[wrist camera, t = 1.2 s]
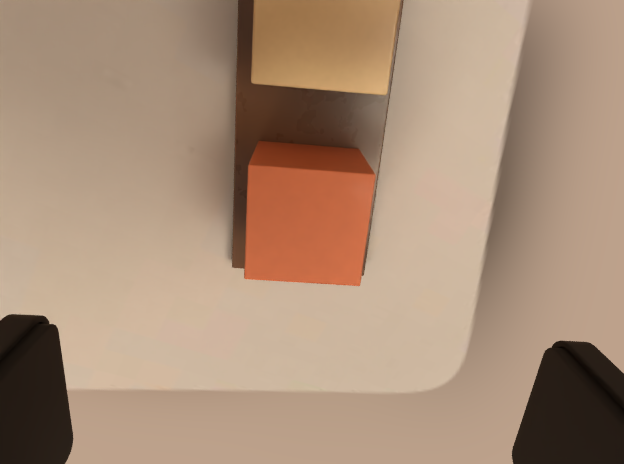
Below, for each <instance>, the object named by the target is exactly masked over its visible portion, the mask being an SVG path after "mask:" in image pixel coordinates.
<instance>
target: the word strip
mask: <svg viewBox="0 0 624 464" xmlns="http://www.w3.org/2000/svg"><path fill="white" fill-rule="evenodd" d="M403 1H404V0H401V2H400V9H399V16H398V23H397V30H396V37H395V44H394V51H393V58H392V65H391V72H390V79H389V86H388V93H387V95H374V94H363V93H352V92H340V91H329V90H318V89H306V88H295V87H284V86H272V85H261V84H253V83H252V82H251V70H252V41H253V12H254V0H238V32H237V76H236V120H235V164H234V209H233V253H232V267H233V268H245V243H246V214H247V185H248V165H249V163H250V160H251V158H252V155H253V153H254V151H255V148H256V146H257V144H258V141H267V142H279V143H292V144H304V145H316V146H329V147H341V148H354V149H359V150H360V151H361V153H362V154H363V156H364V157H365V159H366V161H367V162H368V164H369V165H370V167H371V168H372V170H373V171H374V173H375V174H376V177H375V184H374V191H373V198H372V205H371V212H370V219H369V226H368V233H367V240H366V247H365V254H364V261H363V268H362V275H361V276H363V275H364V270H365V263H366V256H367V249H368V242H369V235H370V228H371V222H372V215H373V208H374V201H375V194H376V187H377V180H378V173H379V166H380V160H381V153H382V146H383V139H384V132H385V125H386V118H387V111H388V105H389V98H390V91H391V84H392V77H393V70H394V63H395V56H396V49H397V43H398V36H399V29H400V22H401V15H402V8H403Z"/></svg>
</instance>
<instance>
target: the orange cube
mask: <svg viewBox="0 0 624 464" xmlns="http://www.w3.org/2000/svg"><path fill="white" fill-rule="evenodd" d="M375 177H376V174H375V173H374V171H373V170H372V168H371V167H370V165H369V164H368V162H367V161H366V159H365V157H364V156H363V154H362V153H361V151H360V150H359V149H354V148H341V147H329V146H316V145H304V144H292V143H279V142H267V141H258V144H257V146H256V148H255V151H254V153H253V155H252V158H251V160H250V163H249V165H248V185H247V214H246V243H245V273H244V278H245V279H255V280H271V281H287V282H304V283H320V284H336V285H353V286H360V282H361V275H362V268H363V261H364V254H365V247H366V240H367V233H368V226H369V219H370V212H371V205H372V198H373V191H374V184H375Z"/></svg>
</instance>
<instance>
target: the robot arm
mask: <svg viewBox="0 0 624 464" xmlns="http://www.w3.org/2000/svg"><path fill="white" fill-rule="evenodd" d="M72 443H73V432H72V425H71V418H70V411H69V403H68V396H67V389H66V382H65V375H64V368H63V360H62V353H61V346H60V339H59V332H58V328H57V327H56V325H54V324H49V321H48V319H47V318H46V317H44V316H38V315H17V314H11V315H7V316H6V317H4V318H3V319H2V320H1V321H0V464H65V462H66V461H67V459H68V456H69V454H70V452H71V448H72ZM512 459H513V464H624V373H622V372H621V371H620V370H619V369H618V368H617V367H616V366H615V365H614V364H613V363H612V362H611V361H610V360H609V359H608V358H607V357H606V356H605V355H604V354H602V353H601V352H600V351H599V350H598V349H597V348H596V347H595V346H594V345H592V344H591V343H588V342H575V341H574V342H573V341H558V342H556V343H554V344H553V346H552V348H548V349H547V350H546V351H545V353H544V355H543V358H542V361H541V364H540V367H539V370H538V373H537V376H536V379H535V382H534V385H533V388H532V392H531V395H530V397H529V401H528V403H527V406H526V410H525V413H524V416H523V419H522V422H521V425H520V428H519V431H518V434H517V437H516V440H515V443H514V446H513V450H512Z"/></svg>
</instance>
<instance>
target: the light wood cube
mask: <svg viewBox="0 0 624 464" xmlns="http://www.w3.org/2000/svg"><path fill="white" fill-rule="evenodd" d="M400 2H401V0H254V12H253V41H252V70H251V82H252V83H253V84H261V85H272V86H284V87H295V88H306V89H318V90H329V91H340V92H352V93H363V94H374V95H387V93H388V86H389V79H390V72H391V65H392V58H393V51H394V44H395V37H396V30H397V23H398V16H399V9H400Z"/></svg>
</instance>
